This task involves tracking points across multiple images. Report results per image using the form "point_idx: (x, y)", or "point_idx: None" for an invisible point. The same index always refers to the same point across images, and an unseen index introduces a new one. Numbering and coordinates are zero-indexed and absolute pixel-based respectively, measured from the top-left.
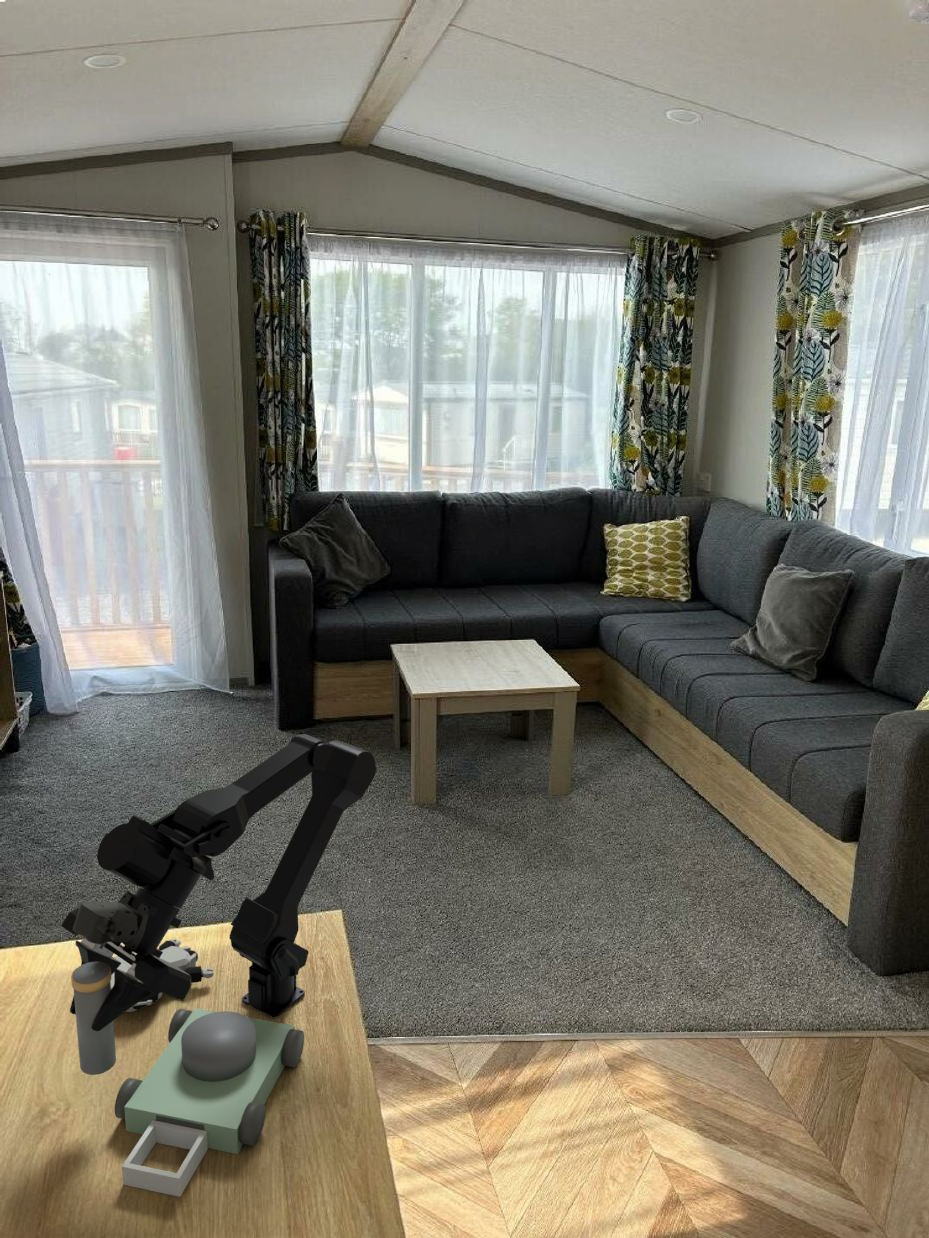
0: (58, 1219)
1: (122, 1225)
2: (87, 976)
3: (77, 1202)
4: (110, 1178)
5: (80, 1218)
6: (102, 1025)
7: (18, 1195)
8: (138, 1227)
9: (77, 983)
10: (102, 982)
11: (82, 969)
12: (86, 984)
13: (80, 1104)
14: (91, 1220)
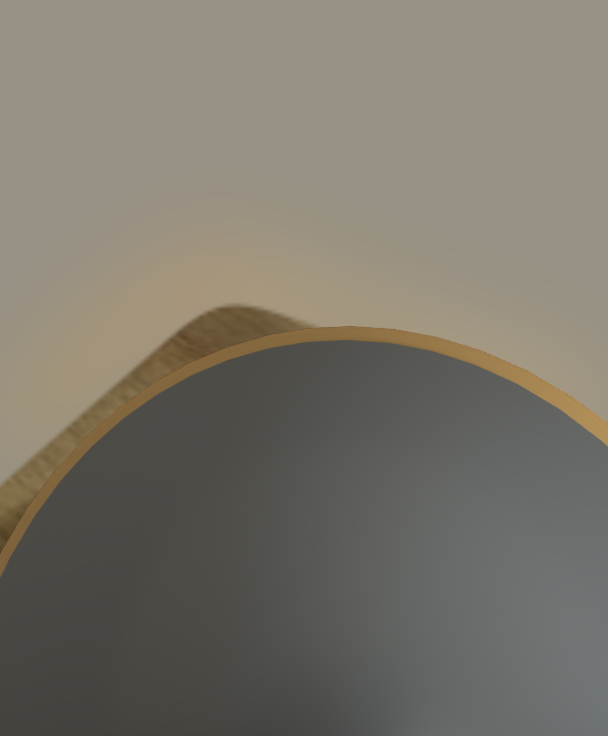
0: (163, 367)
1: (42, 456)
2: (247, 563)
3: None
4: None
5: (128, 400)
6: None
7: (284, 331)
8: (10, 478)
9: (227, 352)
10: None
11: (564, 620)
12: (93, 446)
13: None
14: (106, 415)
